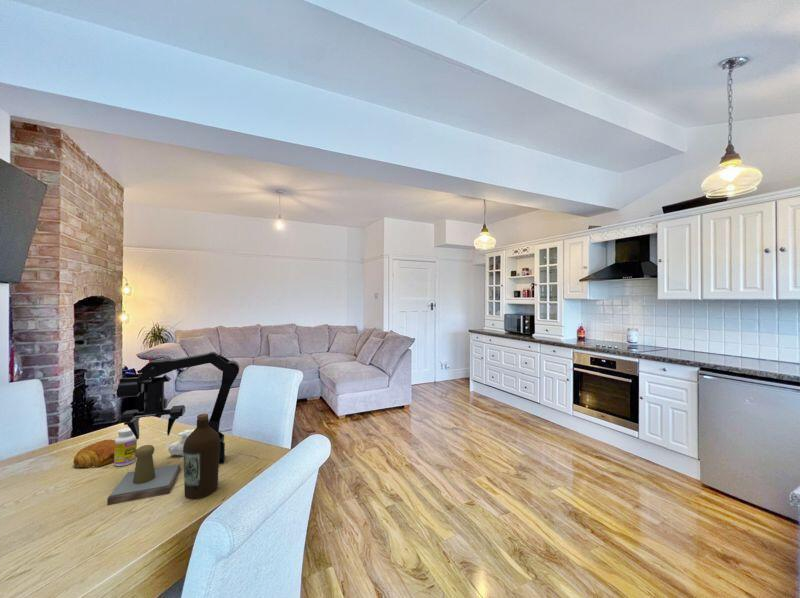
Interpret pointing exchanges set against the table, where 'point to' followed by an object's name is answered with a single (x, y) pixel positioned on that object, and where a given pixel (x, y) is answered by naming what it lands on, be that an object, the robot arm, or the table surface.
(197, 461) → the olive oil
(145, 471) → the brown rounded upright piece
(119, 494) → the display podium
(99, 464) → the croissant
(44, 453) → the table surface
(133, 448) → the supplement bottle
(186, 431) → the bust
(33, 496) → the table surface
